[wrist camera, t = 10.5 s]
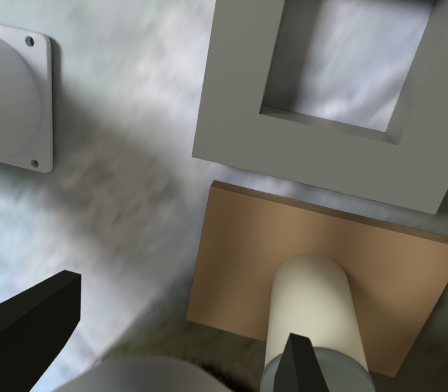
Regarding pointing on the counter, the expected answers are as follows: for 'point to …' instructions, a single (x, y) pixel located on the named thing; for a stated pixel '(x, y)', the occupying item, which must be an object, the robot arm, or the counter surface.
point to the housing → (318, 127)
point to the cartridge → (316, 322)
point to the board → (321, 244)
